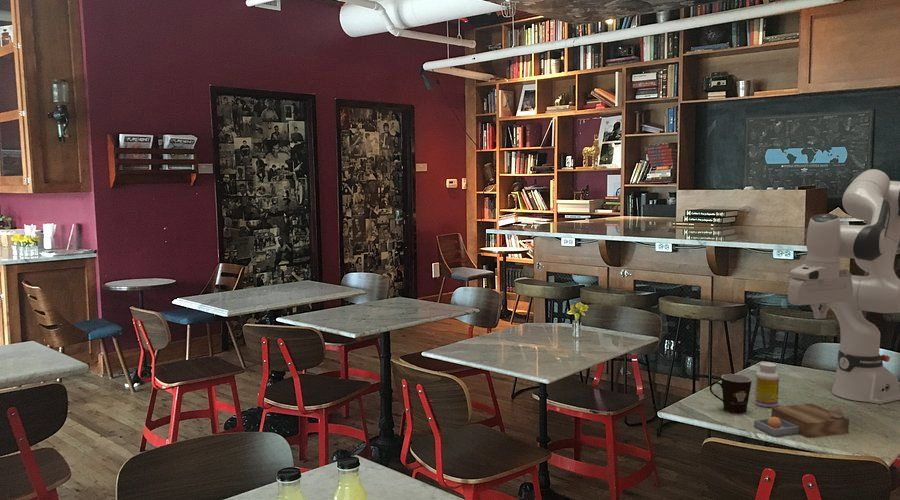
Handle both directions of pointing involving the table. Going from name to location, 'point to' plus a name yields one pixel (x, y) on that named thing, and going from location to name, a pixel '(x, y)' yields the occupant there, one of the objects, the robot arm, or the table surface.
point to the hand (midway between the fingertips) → (819, 318)
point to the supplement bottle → (767, 385)
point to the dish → (785, 429)
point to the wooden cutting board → (812, 420)
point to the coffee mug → (734, 392)
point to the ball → (774, 422)
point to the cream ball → (836, 411)
